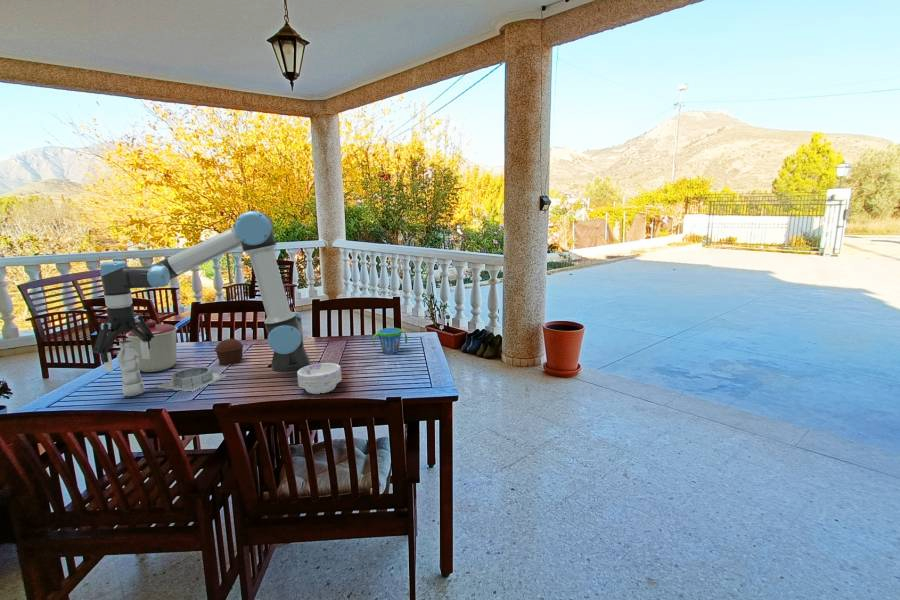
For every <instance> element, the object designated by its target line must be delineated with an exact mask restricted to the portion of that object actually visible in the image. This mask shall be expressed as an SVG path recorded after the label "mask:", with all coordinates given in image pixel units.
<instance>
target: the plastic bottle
mask: <svg viewBox="0 0 900 600" xmlns="http://www.w3.org/2000/svg"><path fill="white" fill-rule="evenodd" d="M132 346H133V344H132V341H131V340H129V339H128V340H121V341H119V348H120V350H119V351H118V352H117V355H116V360H117V363H118V366H119V369H120V372H121V378H122V379H121V380H122V381H121V382H122V385H121V389H122V393H123V395H124V396H126V397H136V396H138V395H142V394H143V393H144V392H145V388H146V387H145V383H144V380H143V379H142V376H141V370H140V369H139V354H138V352H137V351H136V350H135V349H134V348H133V347H132Z"/></svg>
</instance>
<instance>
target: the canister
mask: <svg viewBox="0 0 900 600" xmlns="http://www.w3.org/2000/svg"><path fill="white" fill-rule="evenodd" d="M145 324H146V325H147V327H148V328H149V329H150V331H151V332H152V334H153V335H154V337H153V338H151V341H149V344H150V349H149V355H150V359H142V352H141V345H140V342H141V341H143V340H141V339H140V338H139V337H137V336H136V335H135V334H134V333H132V332H131V331H128V332H126V334H125V336H126V338H128V340H131V341H132V344H133V346H132V347H133V348H134V349H135V350H136V351H137V352H138V354H139V369H140V372H144V373H155V372H161V371H165V370H169V369H171V368H173V367H174V366H175V364H176V363H177V330H178V327H177V326H174V325H173V324H169V323H162V324H161V323H158V324H157V320H154V319H150V320H147V321H146V322H145ZM137 328H138V329H139V330H140V331H141V332H142V330H141V329H140V328H139V327H137ZM142 333H143V332H142Z"/></svg>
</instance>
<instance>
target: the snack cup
mask: <svg viewBox="0 0 900 600" xmlns="http://www.w3.org/2000/svg"><path fill="white" fill-rule="evenodd" d="M402 333H403V334H404V337H405V341H404V343H405V344H407V343H408V335H407V333H406V331H404V330H402V329H401V328H398V327H386V328H385V327H384V328H382V329H379V330H378V331H377V332H376V333H374V335H373V337H372V345H373V347H376V345H375V338H376V337H377V336H378V339H379V341H380V345H381V350H382V353H383V354H386V353H392V354H396V353H398V352H399V351H400V344H401V343H400V342H401V336H402ZM395 352H396V353H395Z"/></svg>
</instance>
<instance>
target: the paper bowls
mask: <svg viewBox="0 0 900 600" xmlns="http://www.w3.org/2000/svg"><path fill="white" fill-rule="evenodd" d="M296 375H297V384H298V387H299V388H303V389H304V390H305V392H307V393H309V394H313V395H321V394H320V393H322V394H327V393H329V392H331V391H333V390H334V389H336V387H337V384H339V383H340V382H342V367H341V365H339V364H337V363H333V362H321V363H319V362H318V363H314V364H309V365H308V366H305V367H303V368H301V369H299V370H297V373H296Z"/></svg>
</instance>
